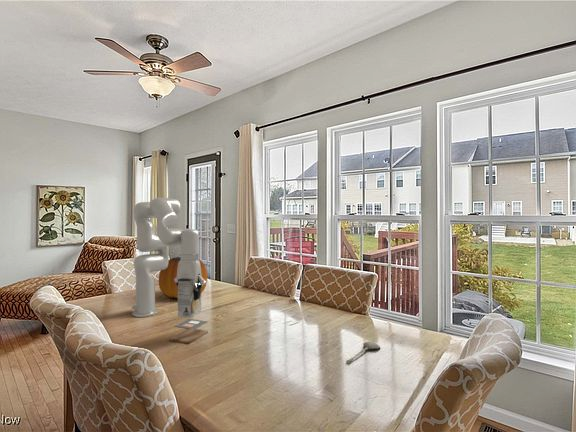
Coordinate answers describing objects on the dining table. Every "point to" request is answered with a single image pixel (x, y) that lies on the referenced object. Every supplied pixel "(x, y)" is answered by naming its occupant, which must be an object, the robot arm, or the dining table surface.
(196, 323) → the color patch mat
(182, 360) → the dining table surface
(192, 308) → the coffee box
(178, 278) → the robot arm
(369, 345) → the soupspoon
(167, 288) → the decorative pumpkin
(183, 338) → the walnut pad
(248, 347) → the dining table surface
